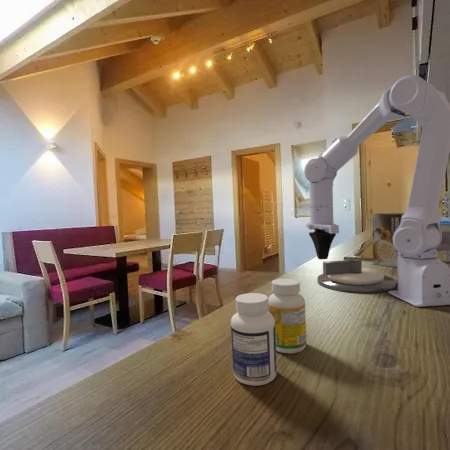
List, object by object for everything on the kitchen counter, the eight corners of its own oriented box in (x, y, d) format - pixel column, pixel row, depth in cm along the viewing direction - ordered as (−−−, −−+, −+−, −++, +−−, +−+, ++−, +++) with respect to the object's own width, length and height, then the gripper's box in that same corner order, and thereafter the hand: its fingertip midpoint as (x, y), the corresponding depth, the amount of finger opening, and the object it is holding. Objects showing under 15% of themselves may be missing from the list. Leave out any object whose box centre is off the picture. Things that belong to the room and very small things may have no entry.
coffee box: (411, 264, 96) (411, 212, 95) (402, 268, 92) (402, 214, 91) (380, 261, 103) (380, 212, 102) (371, 264, 99) (371, 214, 98)
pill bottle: (249, 359, 42) (246, 288, 42) (284, 371, 39) (282, 295, 38) (224, 377, 38) (220, 299, 38) (261, 392, 35) (258, 307, 34)
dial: (364, 270, 86) (363, 254, 85) (396, 282, 73) (396, 263, 72) (313, 274, 84) (313, 257, 83) (337, 287, 71) (337, 267, 71)
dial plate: (413, 290, 70) (413, 285, 70) (334, 295, 69) (334, 290, 69) (370, 272, 88) (370, 268, 88) (308, 276, 87) (307, 272, 87)
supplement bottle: (310, 353, 43) (308, 285, 43) (271, 355, 43) (269, 287, 43) (301, 337, 49) (299, 276, 48) (266, 338, 49) (264, 277, 48)
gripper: (296, 207, 87) (298, 255, 88) (318, 207, 73) (319, 265, 74) (320, 206, 88) (322, 253, 89) (346, 206, 74) (347, 263, 75)
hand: (322, 258), depth 82 cm, fingers closed
